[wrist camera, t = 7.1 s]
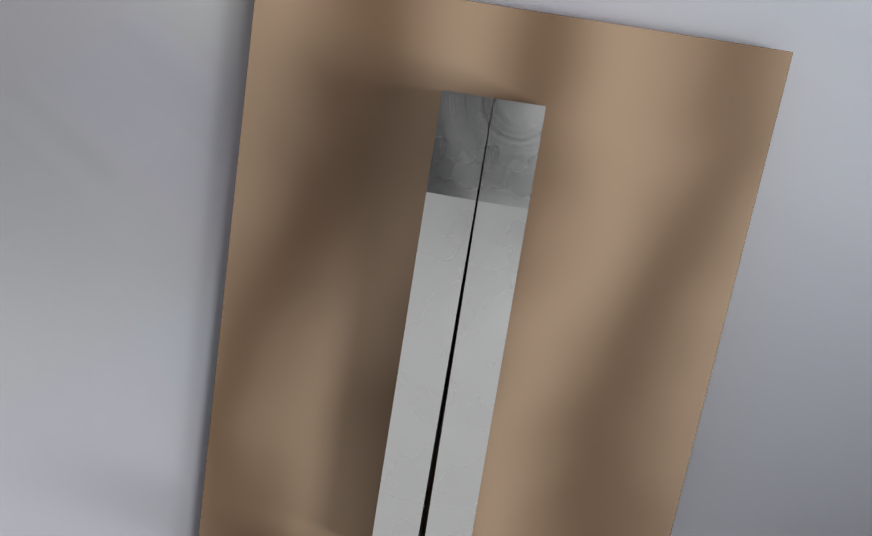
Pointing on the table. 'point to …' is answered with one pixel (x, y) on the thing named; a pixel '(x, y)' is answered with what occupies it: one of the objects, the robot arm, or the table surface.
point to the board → (537, 272)
